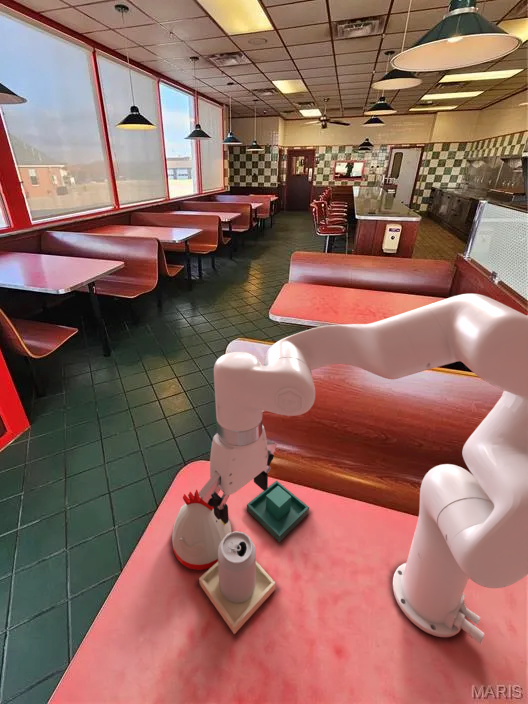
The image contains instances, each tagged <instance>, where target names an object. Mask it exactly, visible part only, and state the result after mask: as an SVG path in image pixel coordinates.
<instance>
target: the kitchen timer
mask: <svg viewBox="0 0 528 704" xmlns="http://www.w3.org/2000/svg"><path fill="white" fill-rule="evenodd" d="M182 499H183V501H184V503H183V505H182V506H181V507H180V509H179V511H178V513H177V515H176V518H175V521H174V524H173V529H172V535H171V540H172V541H171V542H172V549H173V553H174V556H175V558H176V559H177V560H178V562H179V563H180V564H182V565H183V566H185V567H186V568H188V569H190V570H197V571H203V570H207V569H208V570H209V569H210V568H211V567H212V566H213V565H214V564H216V563H217V562H218V548H219V545H220V543H221V541H222V540H223V539H224V537H225V536H226V535H227V534H229V533H231V532H232V525H231V522H230V520H229V521H228V523H226V524H225V523H224V522H223V521H222V520H221V519H220V520H218V519H217V518H216V517H215V515H214V509H213V507H212V506H209V505H208V504H207V503H206V502H205V501H204V500H203V499H202V498H201V497H200V496H199V491H198V489H197V488H196V489H195V491H194V493H192V491H189V493H188V494H187V495H186V494H185V493H184V494H183V496H182Z"/></svg>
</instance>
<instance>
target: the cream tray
mask: <svg viewBox="0 0 528 704" xmlns="http://www.w3.org/2000/svg"><path fill="white" fill-rule="evenodd" d="M198 580H199V581H198V582H199V586H200V587H201V589H202V590H203V592H204V593H205V595H206V597H208V599H209V601H210V602H211V603H212V604H213V606H214V607H215V609H216V610H217V612H218V613H219V615H220V616H221V617H222V619H223V620H224V622H225V623H226V625H227V626H228V627H229V629H230V630H231V632H232V633H233V635H235V634H236V633H237V632H238V631H239V630H240V629H241V628H242V627H243V625H245V623H246V622H247V621H249V619H250V618H251V617H252V616H253V614H254V613H255V612H257V610H258V609H259V608H260V607H261V606H262V604H263V603H264V602H266V600H267V599H268V598H269V597H270V596H271V594H273V592H275V590H276V583H277V582H276V581H275V580H274V579H273V578H272V577H271V576H270V575H269V574H268V572H266V570H265V569H264V568H263V567H262V566H261V565H260V563H259V562H258V561H257V560H256V582H255V589H254V592H253V594H252V595H251V597H250V598H249V599H248V600H246V601H245V602H242V603H233V602H230V601H228V600H227V599H226V598H225V597H224V596H223V594H222V592H221V590H220V585H219V568H218V562H217V563H216V564H214V565H213V566H212V567H211V568H208V570H206V571H205V572H204V573H203V574H202V575H201V576H200V577H199V578H198Z"/></svg>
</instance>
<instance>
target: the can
mask: <svg viewBox="0 0 528 704" xmlns="http://www.w3.org/2000/svg"><path fill="white" fill-rule="evenodd" d="M256 561H257V549H256V545H255V543H254V541H253V539H251V537H250V535H248V534H246V532H242V531H237V530H235V531H231V533H229V534H227V535H226V536H225V537H224V539H223V540H222V541H221V543H220V545H219V548H218V568H219V585H220V590H221V592H222V594H223V596H224V597H225V598H226V599H227V600H228V601H230V602H233V603H242V602H245V601H246V600H248V599H249V598H250V597H251V595H252V594H253V592H254V589H255V582H256Z"/></svg>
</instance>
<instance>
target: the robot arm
mask: <svg viewBox="0 0 528 704" xmlns="http://www.w3.org/2000/svg"><path fill="white" fill-rule="evenodd" d="M456 362H461V363H463V365H464V366H465V367H467V368H468V369H469V370H470V371H471V372H472V373H473V374H474V375H476V376H477V377H479V378H480V379H481V380H483V381H484V382H486V383H487V384H490V385H492V386H493V387H496V388H498V389H500V390H502V391H503V392H502V394H501V397H500V398H499V399H498V400H497V402H496V403H495V405H494V406H493V407H492V409H491V410H490V411H489V412H488V414H487V415H486V416H485V417H484V419H483V420H482V421H481V422H480V423H479V425H477V427H476V428H475V430H474V431H473V432H472V433H471V434H470V436H469V437H468V438H467V440H466V441H465V443H464V444H463V447H462V452H461V453H462V454H461V455H462V458H463V461H464V463H465V465H466V467H467V468H468V470H469V471H468V470H467V469H465V468H463V467H461V466H458V465H456V464H451V463H444V464H439V465H435V466H434V467H432V468H430V469H429V470H428V472H426V473H425V475H424V477H423V479H422V481H421V484H420V489H419V490H420V491H419V509H418V510H419V511H418V518H417V522H416V526H415V530H414V533H413V537H412V541H411V544H410V548H409V552H408V556H407V559H406V562H404V563H402V564H401V565H399V566H398V567H397V568H396V570H395V572H394V574H393V578H392V591H393V595H394V598H395V601H396V602H397V605H398V606H399V608H400V609H401V611H402V613H403V614H404V615H405V616H406V618H407V619H408V620H409V621H410V622H411V623H413V625H415V626H416V627H418V629H420V630H422V631H423V632H425V633H427V634H429V635H432V636H434V637H439V638H450V637H454V636H456V635H457V634H459V633H460V631H461V630H463V631H464V632H465V633H466V634H468V636H469V637H470V638H471V639H473V640H474V641H475V642H476V643H478V644H479V645H481V644H482V642H483V640H484V637H485V634H486V633H485V632H484V631H482V630H481V629H479V627H477V626H478V625H479V622H480V620H481V616H479V615H478V614H477V613H475V612H474V611H472V610H470V609H469V608H468V607H467V604H466V603H464V600H465V597H466V595H465V594H464V592H465V589H466V587H467V584H468V581H469V580H471V582H473V583H475V584H476V585H478V586H480V587H483V588H487V589H503V588H506V587H509V586H512V585H514V584H517V583H518V582H519V581H522V580H523V578H525V577H527V576H528V314H527V315H526V314H525V313H522V312H520V311H518V310H516V309H514V308H513V307H511V306H508V305H506V304H504V303H502V302H499V301H498V300H495V299H494V298H492V297H489V296H487V295H484V294H479V293H461V294H457V295H453V296H450V297H448V298H444V299H441V300H438V301H436V302H432V303H429V304H426V305H423V306H420V307H417V308H414V309H411V310H408V311H405V312H403V313H399V314H396V315H393V316H389V317H387V318H384V319H381V320H378V321H373V322H370V323H348V324H346V323H345V324H329V325H322V326H321V325H320V326H317V327H313V328H309V329H306V330H303V331H300V332H297V333H293V334H292V335H288V336H286V337H283V338H281V339H279V340H278V341H276V342H275V343H273V344H272V345H271V346H270V347H269V348H268V349H267V351H266V353H265V355H264V358H263V364H262V362H261V360H260V359H259V358H258V357H257V356H256V355H254V354H252V353H250V352H247V351H232V352H228V353H225V354H222V355H221V356H220V357H218V358H217V360H216V361H215V363H214V365H213V385H214V401H215V416H216V433H215V435H214V436H213V438H212V440H211V441H212V442H211V447H210V456H209V476H210V478H209V479H208V480H207V482H206V483H205V484H204V485H203V487H202V488H201V489H200V490H199V491H198V493H199V496H200V497H201V498H202V499H203V500H204V501H205V502H206V503H207V504H208V505H209V506H212V507H213V509H214V515H215V517H216V518H217V519H218V520H220V519H221V520H222V521H223V522H224V523H225V524H226V523H228V521H229V522H230V519H229V506H228V504H227V502H228V500H229V498H230V496H232V495H234V494H235V493H237V492H238V491H240V490H241V489H242V488H243V487H245V486H246V485H247V484H249V483H250V482H251V481H253V483H254V484H255V485H257V486H258V487H259V488H260V489H261V490H262V491H266V490H267V489H268V487H269V484H268V483H269V481H268V479H269V472H270V471H271V466H270V465H271V463H272V462H273V460H274V458H275V455H274V454H275V452H276V449H277V446H278V444H277V443H276V442H275V441H273V440H267V433H266V430H265V426H264V424H263V414H264V413H265V412H270V413H273V414H275V415H280V416H288V417H296V416H302V415H304V414H305V413H307V412H309V411H310V410H311V409H312V407H313V406H314V403H315V401H316V386H315V381H314V377H313V374H312V373H313V372H312V371H314V370H316V369H320V368H324V367H328V366H333V365H346V366H353V367H355V368H359V369H362V370H364V371H367V372H368V373H371V374H373V375H376V376H378V377H380V378H384V379H387V380H398V379H402V378H405V377H408V376H411V375H414V374H418V373H421V372H425V371H428V370H432V369H435V368H439V367H443V366H445V365H446V366H447V365H450V364H454V363H456ZM220 491H221V492H222V495H219V493H220ZM466 617H467V618H468V619H469V620H470V621H471V622H470V621H469V620H468V619H466ZM472 622H473V624H472ZM476 625H477V626H476Z"/></svg>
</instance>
